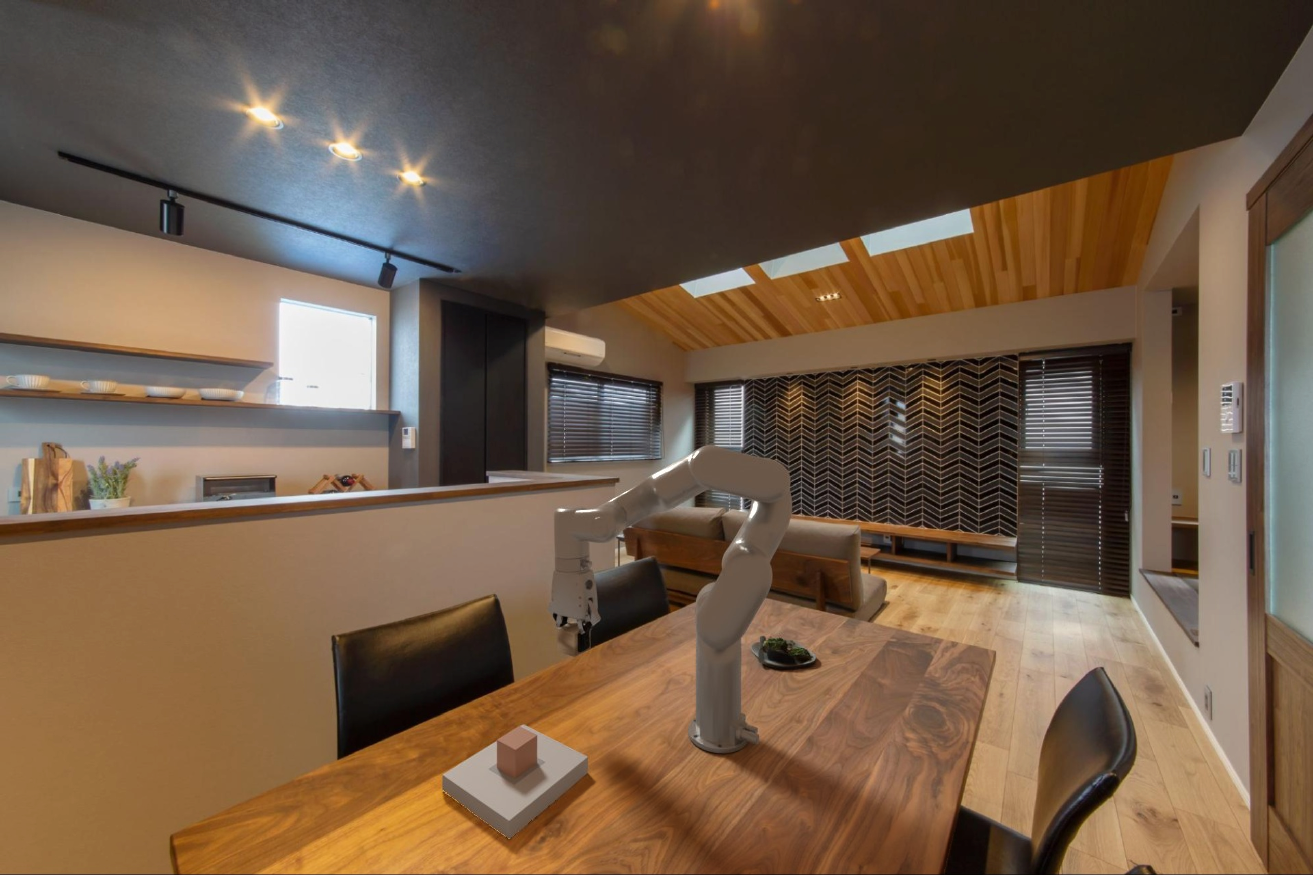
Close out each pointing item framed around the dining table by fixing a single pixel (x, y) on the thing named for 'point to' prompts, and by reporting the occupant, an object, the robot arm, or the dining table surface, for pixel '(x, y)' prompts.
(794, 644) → the salad plate
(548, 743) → the grey base
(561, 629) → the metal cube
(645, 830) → the dining table surface
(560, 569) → the robot arm
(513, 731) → the terracotta cube
